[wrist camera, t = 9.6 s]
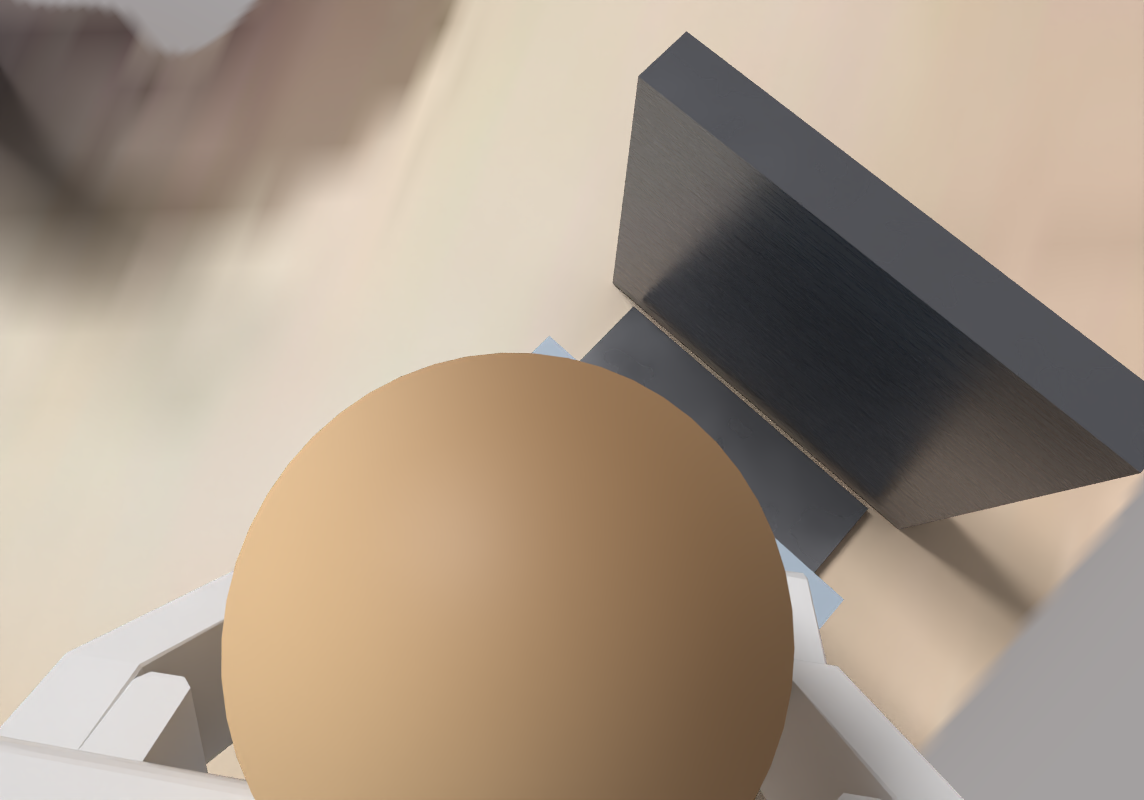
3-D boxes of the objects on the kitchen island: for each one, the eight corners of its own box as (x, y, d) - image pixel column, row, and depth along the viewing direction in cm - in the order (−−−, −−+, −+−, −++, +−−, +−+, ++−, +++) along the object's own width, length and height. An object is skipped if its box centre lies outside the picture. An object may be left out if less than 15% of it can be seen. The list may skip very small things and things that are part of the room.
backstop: (597, 894, 28) (620, 1159, 15) (307, 588, 31) (104, 575, 18) (927, 494, 32) (1186, 413, 19) (642, 253, 35) (686, 31, 21)
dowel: (491, 733, 16) (289, 1048, 5) (442, 551, 17) (173, 444, 6) (669, 672, 17) (887, 828, 5) (610, 496, 18) (679, 290, 6)
